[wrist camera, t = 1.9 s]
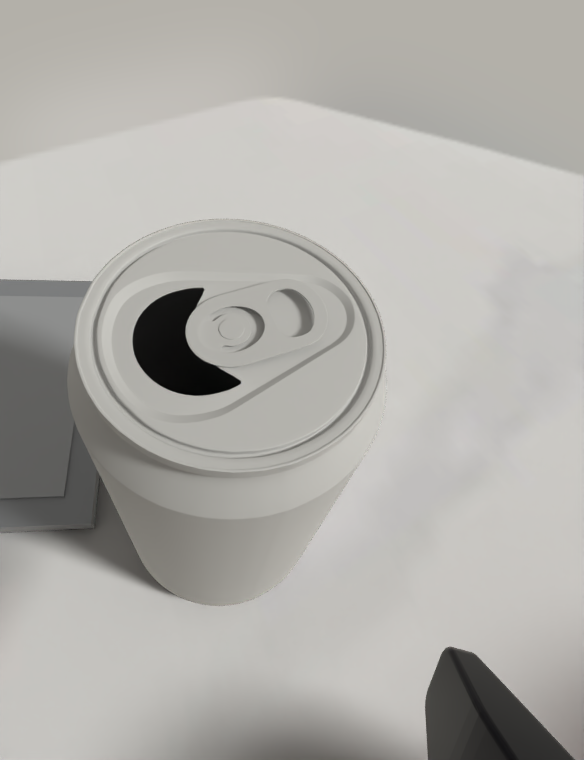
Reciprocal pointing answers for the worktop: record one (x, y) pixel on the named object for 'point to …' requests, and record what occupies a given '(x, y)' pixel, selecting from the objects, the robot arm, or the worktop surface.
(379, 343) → the beverage can
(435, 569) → the worktop surface
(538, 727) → the robot arm
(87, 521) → the coaster
